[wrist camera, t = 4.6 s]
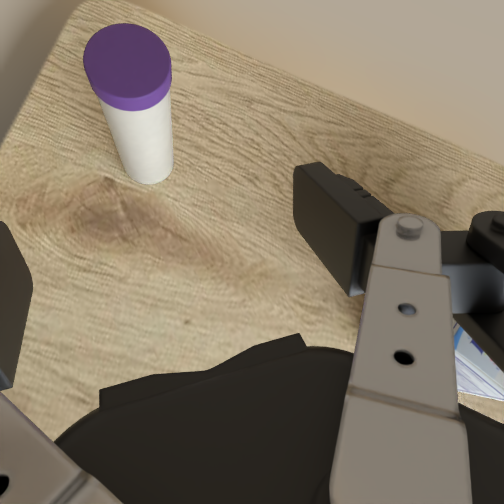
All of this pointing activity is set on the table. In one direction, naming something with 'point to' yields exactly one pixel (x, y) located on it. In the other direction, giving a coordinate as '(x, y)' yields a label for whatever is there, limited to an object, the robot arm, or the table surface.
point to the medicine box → (475, 368)
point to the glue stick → (134, 97)
